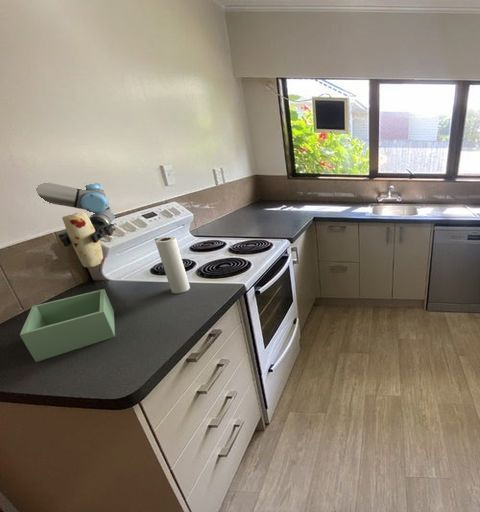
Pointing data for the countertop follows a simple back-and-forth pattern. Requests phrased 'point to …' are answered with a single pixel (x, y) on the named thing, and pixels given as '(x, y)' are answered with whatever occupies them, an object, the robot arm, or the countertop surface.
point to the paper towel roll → (172, 264)
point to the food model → (83, 239)
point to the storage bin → (68, 324)
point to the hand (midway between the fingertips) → (79, 241)
